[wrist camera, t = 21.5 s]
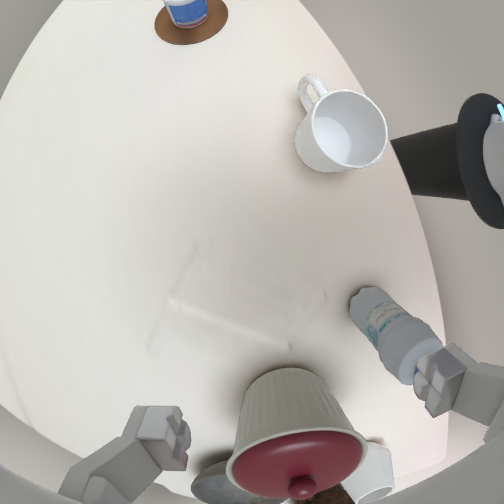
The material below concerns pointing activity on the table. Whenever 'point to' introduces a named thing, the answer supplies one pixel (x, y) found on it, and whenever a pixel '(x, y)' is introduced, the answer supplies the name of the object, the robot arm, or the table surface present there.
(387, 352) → the bottle
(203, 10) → the pill bottle
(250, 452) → the canister
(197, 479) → the bowl
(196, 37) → the coaster
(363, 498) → the cup
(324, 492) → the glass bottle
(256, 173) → the table surface
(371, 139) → the cup
